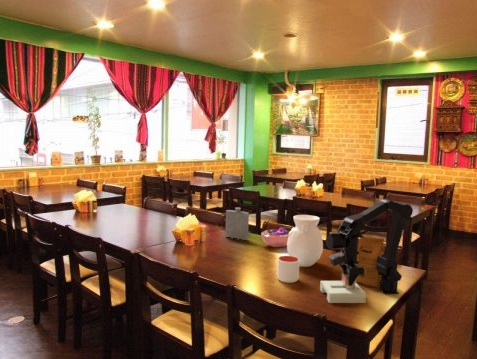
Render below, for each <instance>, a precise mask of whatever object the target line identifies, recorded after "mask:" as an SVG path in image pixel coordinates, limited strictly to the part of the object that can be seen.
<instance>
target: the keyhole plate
mask: <svg viewBox="0 0 477 359" xmlns="http://www.w3.org/2000/svg"><path fill="white" fill-rule="evenodd" d="M319 282H320V285H319V291H320V292H321V293H322V294H324V293H325V294H326V301H328V304H334V303H335V304H364V303H365V304H366V303H367V302H366V301H367V293H366V292H365V290H364V289H362V287H361V286H359V284H358V283H357V282H355V286H351V288H350V289H346V286H345V285H344V284H343V283H342V280H320V281H319Z"/></svg>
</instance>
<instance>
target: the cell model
mask: <svg viewBox="0 0 477 359" xmlns="http://www.w3.org/2000/svg"><path fill="white" fill-rule="evenodd" d="M290 231H291V230H287V229H286V228H285V227H282V226H280V227H279V229H267V230H264V231H262V232H261V234H260V235H261V240H262V241H263V243H265V244H266V245H267V246H269V247H272V248H284V247H285V246H287V242H288V237H289V232H290Z"/></svg>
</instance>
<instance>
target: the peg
mask: <svg viewBox="0 0 477 359" xmlns="http://www.w3.org/2000/svg"><path fill="white" fill-rule="evenodd" d="M341 281H342V283H343V284H344V285H345V286H346V289H350V288H351V286H349V282H348V274H347V273H343V272H342V273H341ZM355 282H356V280H355V281H354V283H353V285H352V286H355ZM356 283H357V282H356Z"/></svg>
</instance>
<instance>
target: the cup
mask: <svg viewBox="0 0 477 359" xmlns="http://www.w3.org/2000/svg"><path fill="white" fill-rule="evenodd" d="M299 262H300V260H299V258H297V257H294V256H289V255H281V256H279V257H278V258H277V270H276V273H277V275H276V277H277V280H279V281H280V282H282V283H286V284H287V283H288V284H289V283H291V284H292V283H295V282H297V281H299V279H300V266H299Z"/></svg>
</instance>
